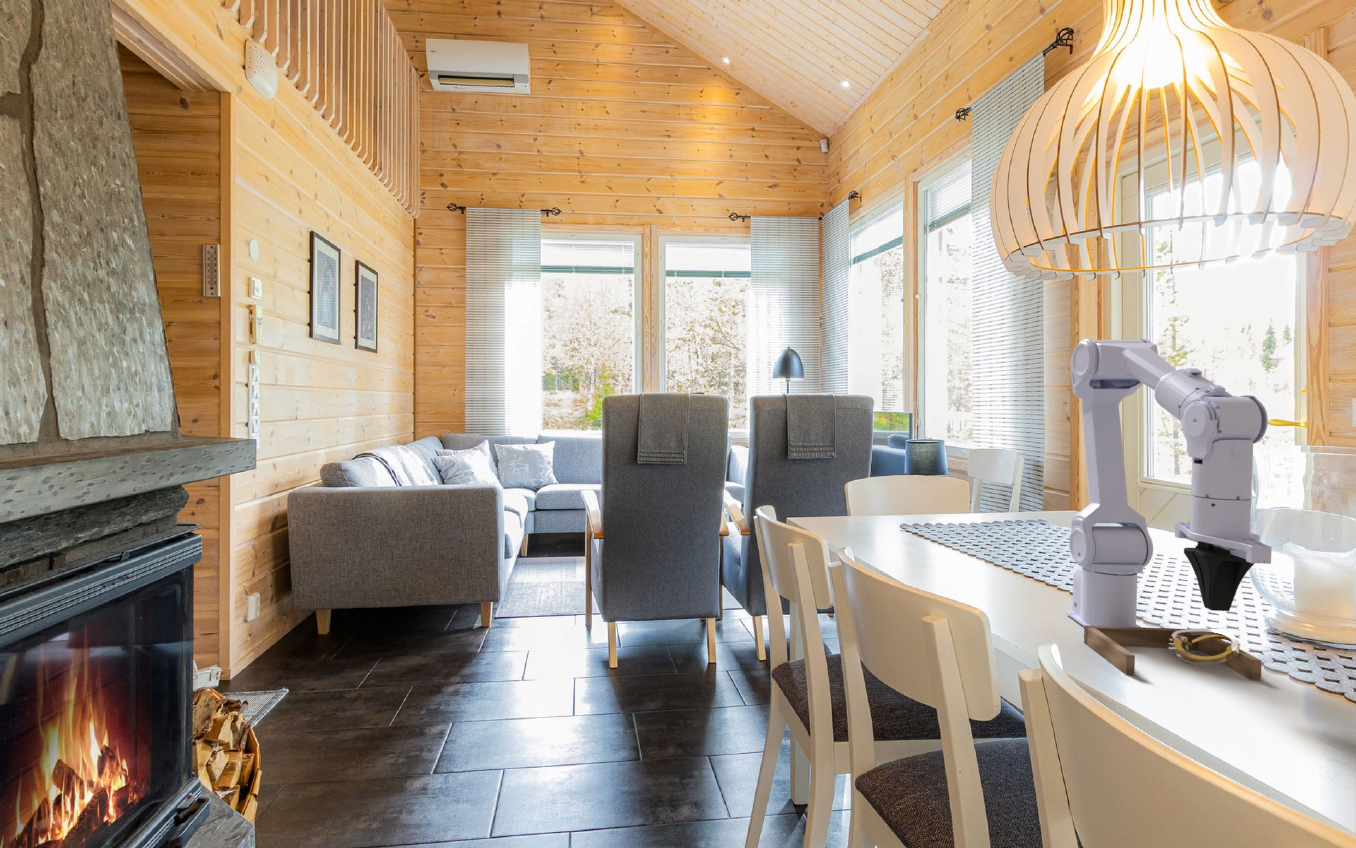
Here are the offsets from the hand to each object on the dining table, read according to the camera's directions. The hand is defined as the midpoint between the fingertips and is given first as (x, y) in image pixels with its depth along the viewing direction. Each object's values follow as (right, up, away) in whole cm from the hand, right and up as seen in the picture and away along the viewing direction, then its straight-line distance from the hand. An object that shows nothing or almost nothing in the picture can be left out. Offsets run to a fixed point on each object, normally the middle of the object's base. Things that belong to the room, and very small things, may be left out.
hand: (1216, 609), depth 84 cm
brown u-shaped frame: (+1, -10, +10) cm, 14 cm away
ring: (+7, -7, +5) cm, 11 cm away
